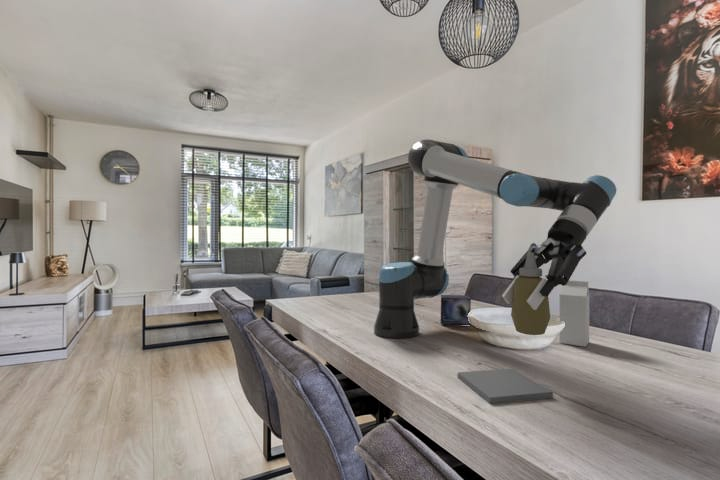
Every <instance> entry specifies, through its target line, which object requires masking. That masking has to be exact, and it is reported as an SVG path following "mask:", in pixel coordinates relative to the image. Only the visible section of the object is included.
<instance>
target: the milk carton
mask: <svg viewBox="0 0 720 480" xmlns="http://www.w3.org/2000/svg"><path fill="white" fill-rule="evenodd" d="M560 285H561V284H560ZM558 308H559V310H558V311H559V317H558V318H559V319H558V320H559V322H561V321H564V322H565V327H564V328H563V330H562V331H561V332H560V333H559V332H558V336H559V337H558V342H559V344H564V345H569V346H570V345H571V346H577V347H584V348H585V347H586V348H587V345H588V344H589V343H590V287H589V281H582V280H569V281H568V283H567V284H566V285H565V286H562V285H561V286H560V290H559V307H558ZM562 317H563V318H562Z"/></svg>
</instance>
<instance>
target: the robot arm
mask: <svg viewBox="0 0 720 480" xmlns="http://www.w3.org/2000/svg"><path fill="white" fill-rule="evenodd" d="M407 162H408V165H409V167H410V169H411V170H412V171H413V172H414V174H417V175H420V176H423V177H424V179H423V182H424V183H425V186H426V187H427V188H426V195H425V201H424V208H423V213H422V214H423V215H422V221H421V226H420V227H421V228H420V233H419V241H418V245H417V252H416V253H417V254H416V255H414V256H413V257H412V258H411V262H408V261H399V262H391V263H386V264H384V265H382V266H381V267H380V269H379V274H378V275H379V277H378V285H379V286H378V287H379V288H378V292H379V294H378V296H379V300H378V303H379V307H378V311H377V312H378V313H377V315H376V319H375V322H374V325H373V330H374V331H373V333H374V334H375V335H376V334H377V335H376V336H379V335H380V336H379V337H382V336H384V337H383V338H388V339H409V337H410V338H414V337H417V336H419V334H420V326H419V323H418V319H417V316H416V312H415V300H418V299H419V300H420V299H431V298H434V297H437V296H438V297H439V296H441V295H443V293H444V292H445V291H446V290H447V288H448V285H449V283H450V282H449V281H450V279H449V274H448V270H447V268H445V265H446V263H445V261H444V260H443V258H442V257H443V250H444V245H445V238H446V233H447V227H448V220H449V214H450V208H451V203H452V202H451V201H452V196H453V191H454V190H455V189H456V188H457V187H458V186H459V185H461V186H465V187H467V188H470V189H472V190H475V191H478V192H481V193H484V194H487V195H490V196H492V197H496V198H499V199H501V200H503V201H504V202H505V203H506V204H508V205H511V206H515V207H521V208H522V207H530V208H531V207H532V208H541V209H551V210H557V211H561V213H560V214H559V215H558V216H557V219H556V220H555V221H554V222H553V224H552V225H551V226H550V228H549V229H548V231H547V238H546V239H545V240H544V241H542V243H541V244H540V243H539V244H536V243H535V242H531V243H530V245H529V247H528V248H527V251H525V252H524V254H523V255H522V257H520V259H519V260H518V261H517V262H516V263H515V265H514V266H513V267H512V268H511V269H510V273H511V274H512V276H513V277H512V279H511V280H510V283H509V284H508V286H507V288H506V290H505V291H504V292H503V294H502V295H501V297H502V298H503V300H504V301H505V302H506V304H507V305H508V304H509V305H512V302H513V293H514V284H515V279H517V278H518V277H521V276H520V275H519V269H520V268H524V267H525V262H526V258H527V254H528V252H534V256H535V261H536V265H537V268H541V267H543V265H544V264H545V265H546V264H548V263H549V262H550V261H551V263H550V267H549V269H548V272H547V274H546V275H545V278H543V279H542V280H541V281H540V283H539V284H538V286H537V287H536V288H535V290H534V291H533V293H532V294H531V295H530V297H529V298H528V300H527V303H528V304H529V305H530V306H531V308H532V309H533V310H536V309H537V308H538V306H539V305H540V304H541V302H542V301H543V299H544V298H545V297H547V296H548V297H549V295H550V294H551V293H552V291H553V290H554V288H556V287H558V286H559V285H562V286H565V285H566V284H567V283H568V281H570V279H571V278H572V276H573V273H574V272H575V270H576V268H577V267H578V265H579V264H580V262H581V260H582V259H583V258H584V257H585V256H586V255H587V251H586V249H584V247H583V246H582V245H583V243H584V242H585V240H586V238H587V237H588V236H589V234H590V233H591V231H592V230H593V229H594V227H595V225H596V224H597V223H598V221H599V219H600V218H601V216H602V215H603V214H604V213H605V211H606V210H607V208H608V207H610V206H611V204H612V201H613V199H614V197H615V196H616V194H617V186H616V184H615V183H614V182H613V181H612V180H611V179H610V178H608V177H606V176H604V175H599V174H596V175H595V174H594V175H592V176H588V177H587V178H586V179H585V180H584V181H582V182H573V181H566V180H560V179H559V180H558V179H551V178H547V177H541V176H535V175H531V174H527V173H523V172H519V171H517V170H516V171H515V170H512V169H508V168H505V167H501V166H498V165H494V164H491V163H487V162H484V161H481V160H477V159H474V158H470V157H469V156H468V154H467V152H466V151H465V149H464V148H462V147H461V146H458V145H455V144H453V143H448V142H442V141H438V140H433V139H421V140H418V141H417V142H415V143H414V144H413V145H412V146H411V148H410V149H409V151H408V155H407ZM413 336H414V337H413Z"/></svg>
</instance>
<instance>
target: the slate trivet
mask: <svg viewBox="0 0 720 480" xmlns="http://www.w3.org/2000/svg"><path fill="white" fill-rule="evenodd" d="M457 378H458V379H459V380H460V381H461V382H462V383H464V385H466V386H467V387H469V389H471V390H472V391H474V392H475V394H477V395H478V396H480V397H481V398H482V399H483V400H484V401H486V402H487V403H488V404H500V403H509V402H510V403H511V402H512V403H513V402H520V401H521V402H523V401H531V400H542V399H543V400H544V399H553V398H554V391H552V390H551V389H549V388H547V387H545V386H544V385H542V384H540V383H538V382H537V381H535V380H533V379H531V378H529V377H528V376H526V375H524V373H521V372H520V371H518V370H515V368H499V369H488V370H487V369H485V370H474V371H473V370H471V371H470V370H469V371H459V372H457Z"/></svg>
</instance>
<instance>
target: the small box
mask: <svg viewBox="0 0 720 480" xmlns="http://www.w3.org/2000/svg"><path fill="white" fill-rule="evenodd" d="M471 300H472V299H471V297H470V295H462V294H461V295H460V294H440V321H441V322H440V321H439V322H440V325H441V324H443V325H442V326H447V325H470V326H471V322H470V323H469V321H468V317H467V315H468V313H469V312H470V311H471V308H472V307H471V305H472V304H471V303H472V301H471ZM471 312H472V311H471Z"/></svg>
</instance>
